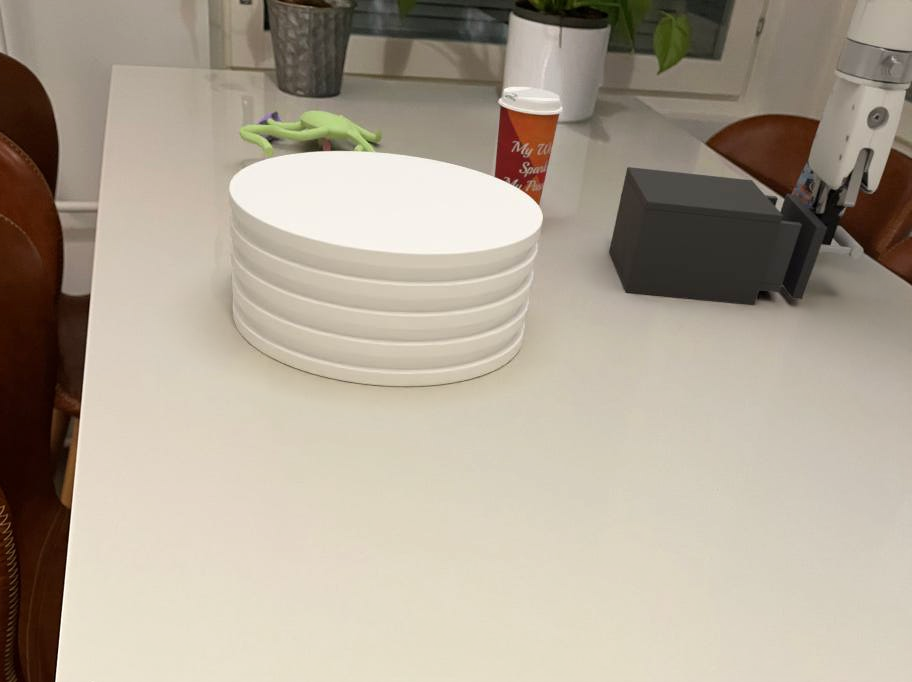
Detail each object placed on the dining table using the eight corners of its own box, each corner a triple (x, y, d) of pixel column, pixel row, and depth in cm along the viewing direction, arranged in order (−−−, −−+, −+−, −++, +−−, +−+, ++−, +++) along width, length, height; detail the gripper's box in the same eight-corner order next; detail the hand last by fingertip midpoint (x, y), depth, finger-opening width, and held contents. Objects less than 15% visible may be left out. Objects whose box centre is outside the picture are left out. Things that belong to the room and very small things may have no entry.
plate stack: (206, 271, 100) (200, 150, 93) (458, 261, 110) (471, 151, 102) (274, 398, 81) (273, 258, 74) (572, 374, 91) (598, 248, 83)
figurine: (236, 181, 124) (234, 133, 120) (255, 126, 144) (254, 83, 140) (382, 195, 125) (385, 147, 122) (381, 139, 146) (384, 97, 142)
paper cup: (507, 230, 120) (526, 102, 111) (471, 209, 125) (486, 86, 115) (557, 224, 124) (579, 100, 115) (520, 204, 128) (538, 84, 119)
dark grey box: (727, 264, 119) (752, 180, 112) (754, 305, 109) (783, 215, 103) (608, 252, 118) (627, 166, 111) (625, 292, 108) (647, 201, 102)
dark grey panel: (821, 267, 118) (845, 199, 113) (853, 304, 110) (881, 232, 105) (664, 251, 117) (681, 182, 112) (684, 288, 108) (703, 214, 103)
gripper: (941, 85, 94) (866, 276, 106) (885, 54, 105) (823, 229, 117) (866, 76, 94) (799, 269, 105) (818, 46, 105) (762, 223, 117)
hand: (812, 247), depth 111 cm, fingers closed
